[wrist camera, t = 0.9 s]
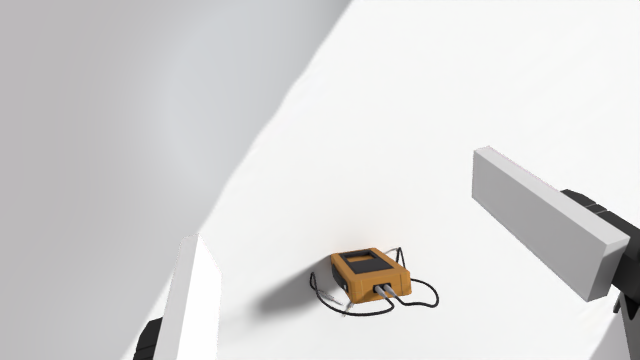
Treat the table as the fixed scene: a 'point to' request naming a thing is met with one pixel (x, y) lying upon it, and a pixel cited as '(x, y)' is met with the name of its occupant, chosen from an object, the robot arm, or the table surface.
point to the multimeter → (370, 279)
